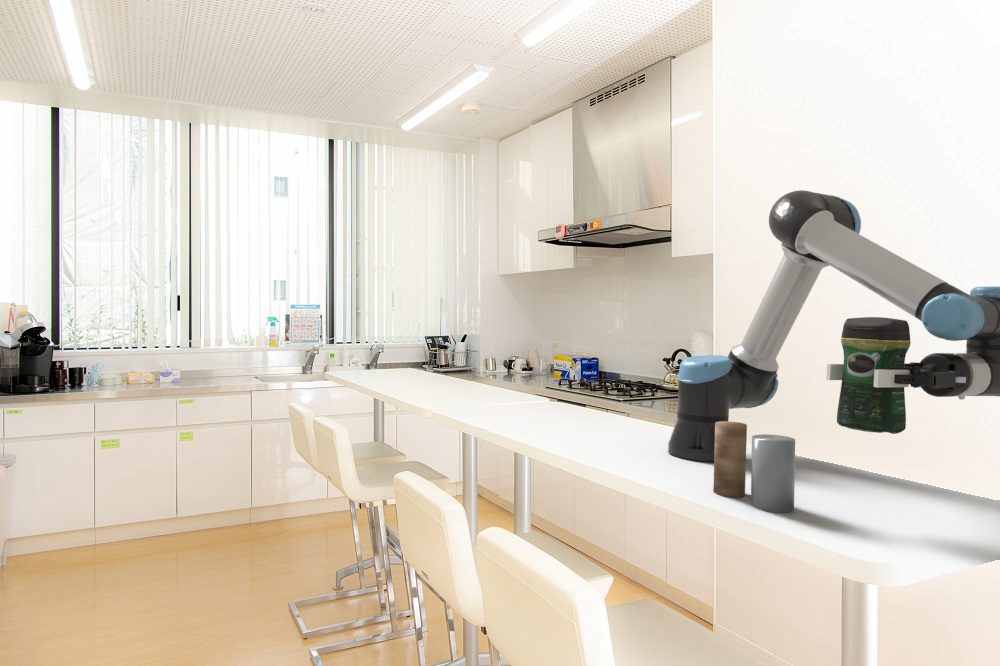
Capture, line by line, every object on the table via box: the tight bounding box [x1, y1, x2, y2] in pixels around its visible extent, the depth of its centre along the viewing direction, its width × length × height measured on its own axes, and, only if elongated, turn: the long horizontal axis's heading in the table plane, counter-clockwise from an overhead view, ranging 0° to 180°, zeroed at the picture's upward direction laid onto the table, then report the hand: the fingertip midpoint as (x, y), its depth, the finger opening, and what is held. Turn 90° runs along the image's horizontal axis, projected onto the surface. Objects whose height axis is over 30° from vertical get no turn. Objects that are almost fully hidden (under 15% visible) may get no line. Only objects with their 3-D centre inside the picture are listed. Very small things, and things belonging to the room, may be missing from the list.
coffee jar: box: [836, 316, 912, 435], centre depth 107 cm, size 10×8×19 cm
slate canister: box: [750, 433, 796, 513], centre depth 114 cm, size 7×7×12 cm
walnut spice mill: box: [712, 420, 748, 498], centre depth 122 cm, size 6×6×13 cm
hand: (851, 375), depth 106 cm, fingers closed on coffee jar, 8 cm apart
